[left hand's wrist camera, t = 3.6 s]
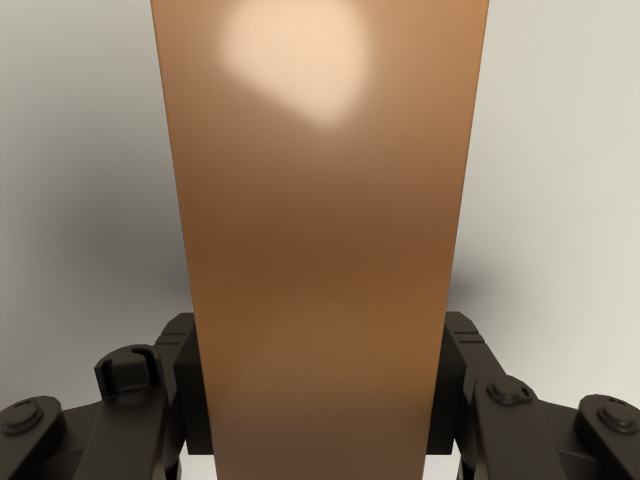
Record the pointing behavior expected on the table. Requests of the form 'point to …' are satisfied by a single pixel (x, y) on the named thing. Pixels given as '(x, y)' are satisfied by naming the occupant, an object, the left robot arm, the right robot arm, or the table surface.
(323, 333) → the post
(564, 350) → the table surface
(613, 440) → the left robot arm
